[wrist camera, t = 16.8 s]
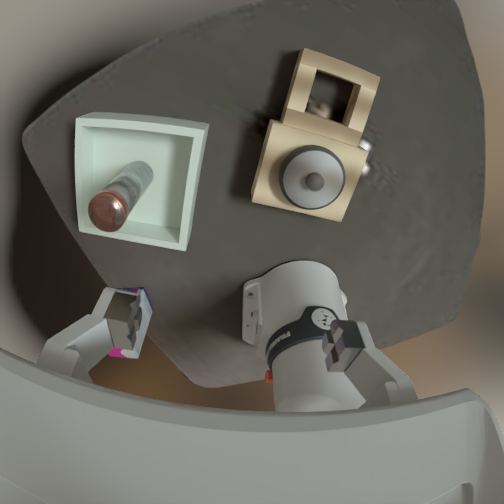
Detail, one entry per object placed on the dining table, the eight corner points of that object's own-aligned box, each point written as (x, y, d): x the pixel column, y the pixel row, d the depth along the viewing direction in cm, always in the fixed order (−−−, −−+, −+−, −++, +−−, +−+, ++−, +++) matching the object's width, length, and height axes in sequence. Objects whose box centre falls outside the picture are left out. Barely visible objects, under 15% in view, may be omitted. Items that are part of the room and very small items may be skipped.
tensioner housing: (333, 209, 38) (346, 231, 34) (251, 190, 37) (252, 211, 32) (379, 80, 28) (402, 83, 23) (290, 47, 26) (299, 41, 21)
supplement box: (143, 285, 46) (125, 337, 36) (153, 309, 49) (140, 360, 40) (115, 287, 46) (94, 336, 37) (127, 309, 49) (110, 358, 40)
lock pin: (153, 191, 35) (125, 235, 26) (124, 187, 34) (89, 229, 25) (155, 161, 33) (124, 197, 24) (125, 158, 32) (86, 192, 23)
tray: (190, 233, 40) (185, 251, 36) (92, 216, 38) (79, 231, 34) (209, 123, 31) (204, 130, 27) (93, 111, 29) (76, 118, 25)
